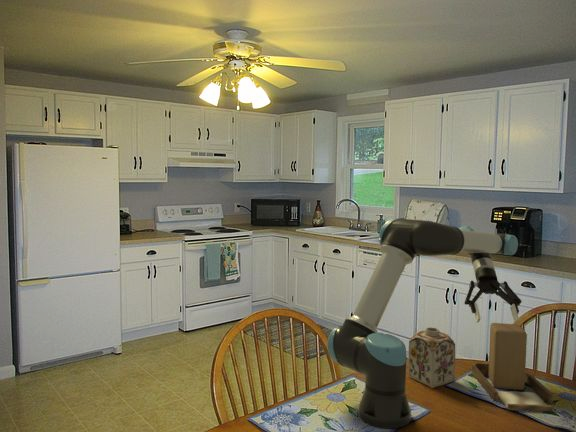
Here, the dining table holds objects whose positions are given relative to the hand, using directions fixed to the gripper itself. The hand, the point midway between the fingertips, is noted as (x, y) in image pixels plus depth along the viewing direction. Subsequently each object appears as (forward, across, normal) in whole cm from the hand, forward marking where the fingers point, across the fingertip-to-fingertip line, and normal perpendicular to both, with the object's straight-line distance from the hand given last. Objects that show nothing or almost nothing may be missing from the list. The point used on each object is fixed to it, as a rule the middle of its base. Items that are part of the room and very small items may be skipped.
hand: (497, 321), depth 174 cm
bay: (+24, 0, -2) cm, 25 cm away
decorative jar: (+19, +25, -8) cm, 33 cm away
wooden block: (+21, 0, -6) cm, 22 cm away
